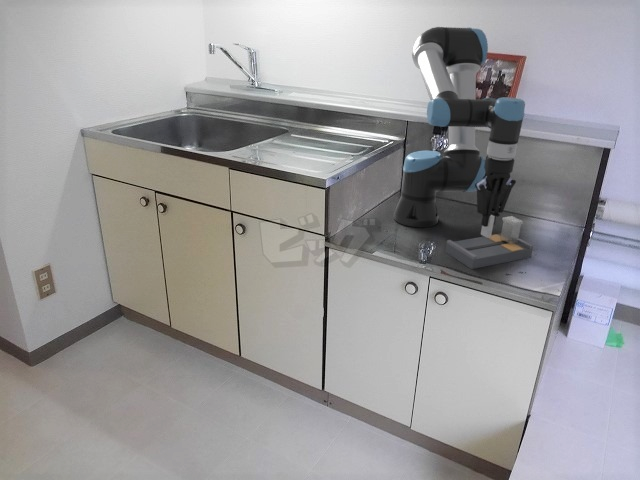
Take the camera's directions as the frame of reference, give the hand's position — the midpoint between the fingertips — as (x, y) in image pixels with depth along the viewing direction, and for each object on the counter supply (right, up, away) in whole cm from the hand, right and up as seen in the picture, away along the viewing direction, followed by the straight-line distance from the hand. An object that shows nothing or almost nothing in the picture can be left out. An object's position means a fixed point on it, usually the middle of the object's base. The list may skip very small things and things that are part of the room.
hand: (485, 235), depth 150 cm
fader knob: (+8, -1, +4) cm, 9 cm away
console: (+1, -6, +3) cm, 7 cm away
